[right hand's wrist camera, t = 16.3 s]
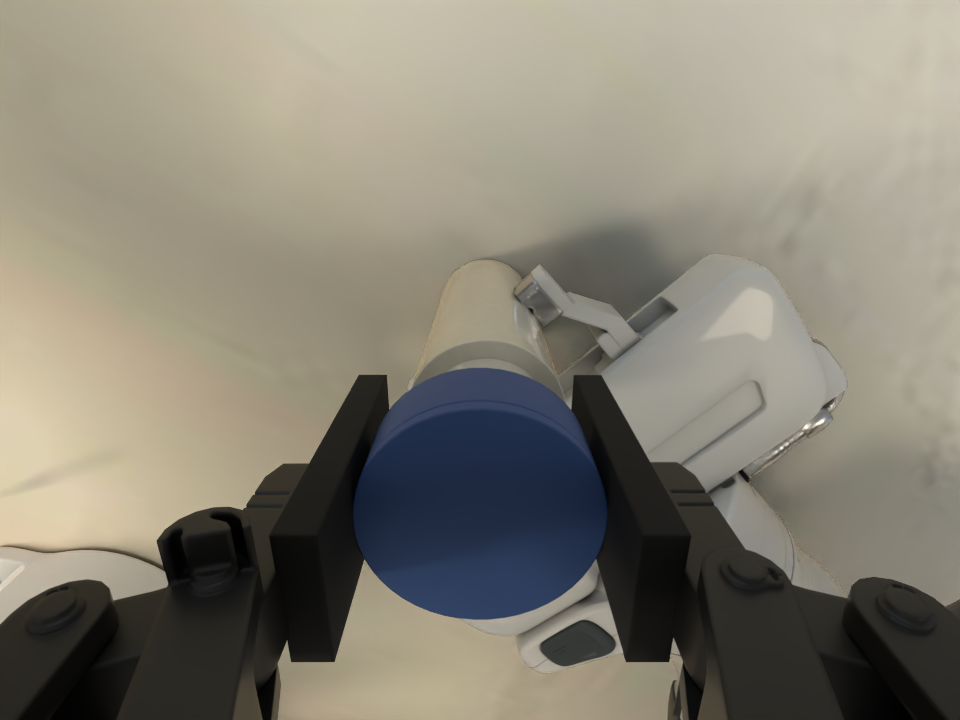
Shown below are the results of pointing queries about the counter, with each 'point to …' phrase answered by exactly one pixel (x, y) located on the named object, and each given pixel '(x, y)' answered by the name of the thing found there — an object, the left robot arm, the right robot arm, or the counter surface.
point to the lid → (480, 496)
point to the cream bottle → (486, 328)
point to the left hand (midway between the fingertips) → (470, 328)
